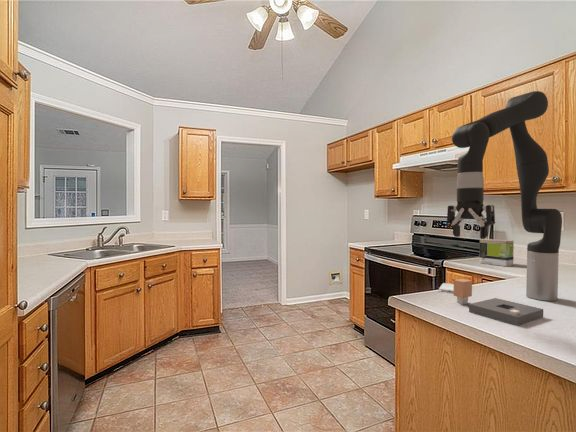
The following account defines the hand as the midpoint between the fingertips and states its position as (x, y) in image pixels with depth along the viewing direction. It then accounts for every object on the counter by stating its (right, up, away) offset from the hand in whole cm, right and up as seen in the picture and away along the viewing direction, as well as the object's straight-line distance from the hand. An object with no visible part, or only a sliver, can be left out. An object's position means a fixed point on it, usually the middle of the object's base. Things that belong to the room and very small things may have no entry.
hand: (469, 237), depth 104 cm
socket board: (+10, -24, -3) cm, 26 cm away
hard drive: (+9, -24, +29) cm, 38 cm away
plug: (+3, -24, +9) cm, 26 cm away
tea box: (+67, -22, +91) cm, 115 cm away
